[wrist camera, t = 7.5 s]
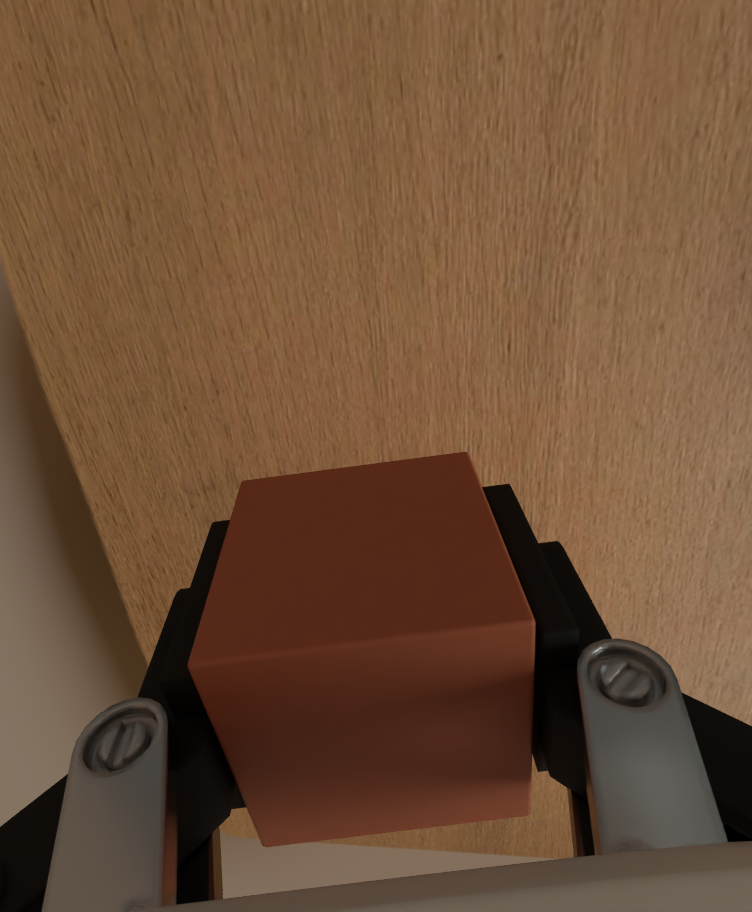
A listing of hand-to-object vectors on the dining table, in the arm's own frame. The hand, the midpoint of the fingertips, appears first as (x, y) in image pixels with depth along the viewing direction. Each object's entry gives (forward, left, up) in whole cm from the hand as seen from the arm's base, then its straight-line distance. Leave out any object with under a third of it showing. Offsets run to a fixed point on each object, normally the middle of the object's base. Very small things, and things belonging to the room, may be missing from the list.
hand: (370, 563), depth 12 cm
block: (0, 0, 0) cm, 0 cm away
